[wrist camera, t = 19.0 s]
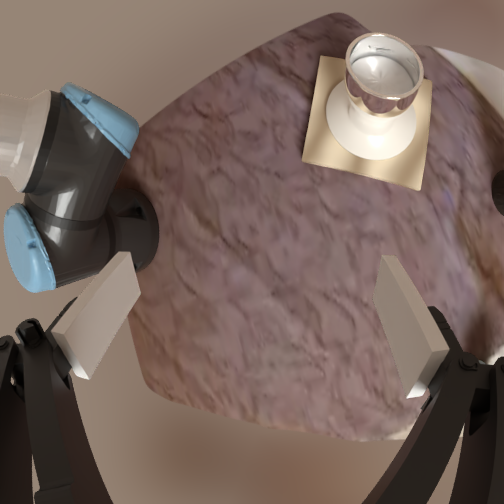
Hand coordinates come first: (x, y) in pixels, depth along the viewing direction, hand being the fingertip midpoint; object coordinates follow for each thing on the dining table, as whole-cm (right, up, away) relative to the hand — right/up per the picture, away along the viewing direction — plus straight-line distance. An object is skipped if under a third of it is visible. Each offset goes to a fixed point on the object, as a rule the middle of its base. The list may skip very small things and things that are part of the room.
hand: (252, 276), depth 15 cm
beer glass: (+15, +19, +17) cm, 29 cm away
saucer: (+15, +19, +18) cm, 30 cm away
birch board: (+16, +19, +19) cm, 31 cm away
